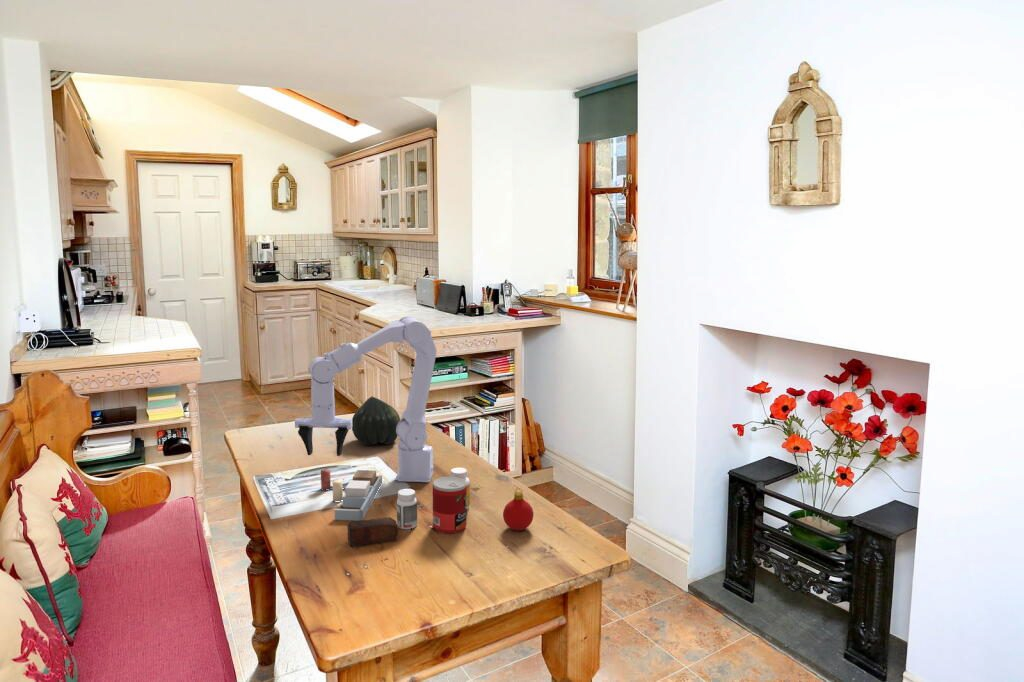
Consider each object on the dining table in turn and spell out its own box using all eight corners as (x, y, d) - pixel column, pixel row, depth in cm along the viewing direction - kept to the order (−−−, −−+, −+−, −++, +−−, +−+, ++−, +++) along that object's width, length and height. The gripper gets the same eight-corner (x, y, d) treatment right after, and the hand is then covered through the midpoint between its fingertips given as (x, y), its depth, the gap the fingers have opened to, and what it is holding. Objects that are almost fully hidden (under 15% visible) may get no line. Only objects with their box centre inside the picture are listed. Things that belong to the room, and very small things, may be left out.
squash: (394, 436, 215) (397, 391, 222) (344, 437, 215) (350, 392, 223) (401, 453, 227) (404, 410, 235) (354, 454, 227) (359, 411, 235)
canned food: (461, 535, 163) (462, 490, 161) (428, 532, 165) (428, 487, 163) (470, 521, 171) (470, 477, 169) (438, 518, 172) (438, 474, 170)
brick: (350, 549, 156) (349, 529, 156) (347, 541, 160) (346, 521, 159) (398, 541, 160) (398, 522, 159) (394, 534, 164) (394, 515, 163)
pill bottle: (420, 522, 170) (420, 489, 168) (411, 531, 165) (411, 497, 164) (402, 519, 171) (402, 486, 169) (393, 527, 167) (392, 494, 165)
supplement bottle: (458, 513, 175) (458, 476, 173) (443, 507, 178) (443, 470, 177) (474, 507, 179) (474, 470, 177) (459, 500, 182) (459, 464, 180)
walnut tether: (376, 486, 191) (376, 468, 190) (372, 494, 186) (371, 475, 185) (324, 485, 191) (323, 467, 190) (318, 492, 186) (318, 474, 185)
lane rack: (382, 484, 192) (381, 475, 191) (362, 520, 170) (362, 510, 170) (357, 483, 192) (357, 475, 192) (334, 519, 170) (334, 510, 170)
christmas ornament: (529, 521, 171) (530, 481, 170) (535, 534, 165) (536, 493, 163) (500, 523, 170) (501, 483, 168) (505, 536, 163) (506, 495, 161)
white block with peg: (370, 497, 183) (369, 479, 183) (365, 505, 179) (365, 486, 178) (335, 496, 184) (335, 477, 183) (330, 504, 179) (329, 485, 178)
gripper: (289, 407, 180) (292, 458, 183) (347, 409, 180) (348, 460, 182) (298, 399, 187) (300, 449, 190) (354, 401, 187) (355, 451, 189)
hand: (324, 454), depth 187 cm, fingers open, 7 cm apart
